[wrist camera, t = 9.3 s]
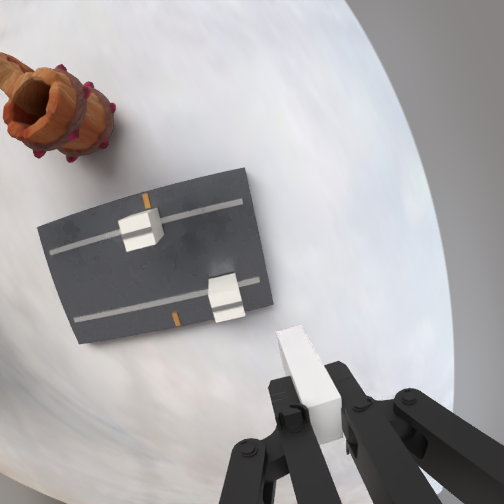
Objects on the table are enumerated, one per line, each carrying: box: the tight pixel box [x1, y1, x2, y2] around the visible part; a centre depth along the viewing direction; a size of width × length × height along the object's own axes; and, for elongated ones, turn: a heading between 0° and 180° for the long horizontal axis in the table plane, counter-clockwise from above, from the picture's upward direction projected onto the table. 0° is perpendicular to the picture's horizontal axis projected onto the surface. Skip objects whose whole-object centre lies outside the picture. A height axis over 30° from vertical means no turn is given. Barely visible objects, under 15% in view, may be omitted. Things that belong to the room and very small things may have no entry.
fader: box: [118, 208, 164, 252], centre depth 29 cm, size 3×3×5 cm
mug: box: [0, 53, 116, 163], centre depth 22 cm, size 15×8×15 cm, turn 45°
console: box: [37, 167, 273, 344], centre depth 33 cm, size 26×16×2 cm, turn 102°
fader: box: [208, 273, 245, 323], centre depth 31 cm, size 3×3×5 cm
